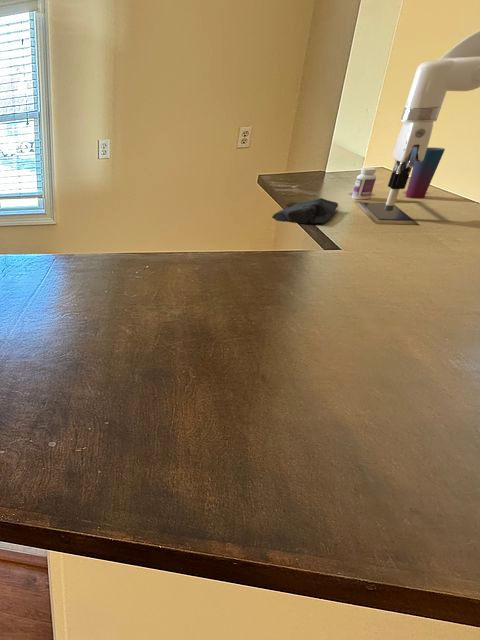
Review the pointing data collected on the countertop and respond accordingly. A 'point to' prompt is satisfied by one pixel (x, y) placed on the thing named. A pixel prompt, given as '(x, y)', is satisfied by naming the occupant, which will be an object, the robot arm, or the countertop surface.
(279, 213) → the dark slate chunk
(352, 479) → the countertop surface
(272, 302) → the countertop surface
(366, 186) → the pill bottle
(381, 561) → the countertop surface
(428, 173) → the cup
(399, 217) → the tablet
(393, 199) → the stylus
